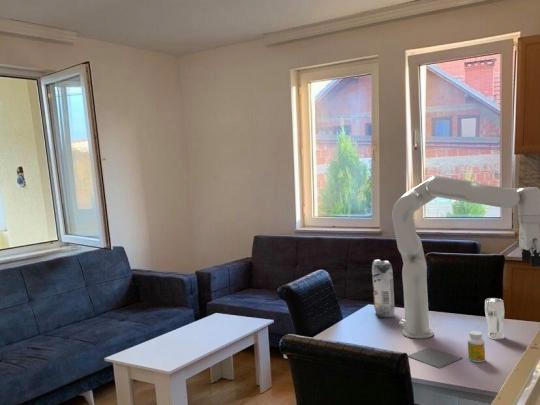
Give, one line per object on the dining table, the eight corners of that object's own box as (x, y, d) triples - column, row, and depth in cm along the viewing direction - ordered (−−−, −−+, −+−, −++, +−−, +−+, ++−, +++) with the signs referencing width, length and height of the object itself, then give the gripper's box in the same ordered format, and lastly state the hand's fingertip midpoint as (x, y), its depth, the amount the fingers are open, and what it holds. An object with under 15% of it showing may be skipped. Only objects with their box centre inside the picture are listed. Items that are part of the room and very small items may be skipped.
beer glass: (507, 340, 178) (506, 302, 177) (488, 340, 179) (487, 302, 178) (502, 334, 184) (501, 297, 184) (484, 333, 186) (482, 297, 185)
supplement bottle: (467, 361, 161) (465, 334, 160) (470, 355, 165) (468, 329, 165) (483, 363, 158) (482, 336, 157) (486, 358, 162) (485, 331, 162)
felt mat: (407, 356, 169) (407, 355, 169) (430, 347, 175) (430, 346, 175) (439, 368, 157) (439, 367, 157) (462, 358, 164) (462, 357, 164)
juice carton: (392, 311, 223) (389, 257, 222) (395, 318, 213) (392, 261, 211) (373, 312, 224) (370, 258, 223) (376, 318, 214) (373, 262, 212)
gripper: (511, 217, 183) (513, 259, 184) (526, 222, 166) (528, 268, 167) (532, 216, 181) (533, 259, 182) (549, 221, 164) (550, 268, 165)
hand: (531, 263), depth 174 cm, fingers open, 9 cm apart
